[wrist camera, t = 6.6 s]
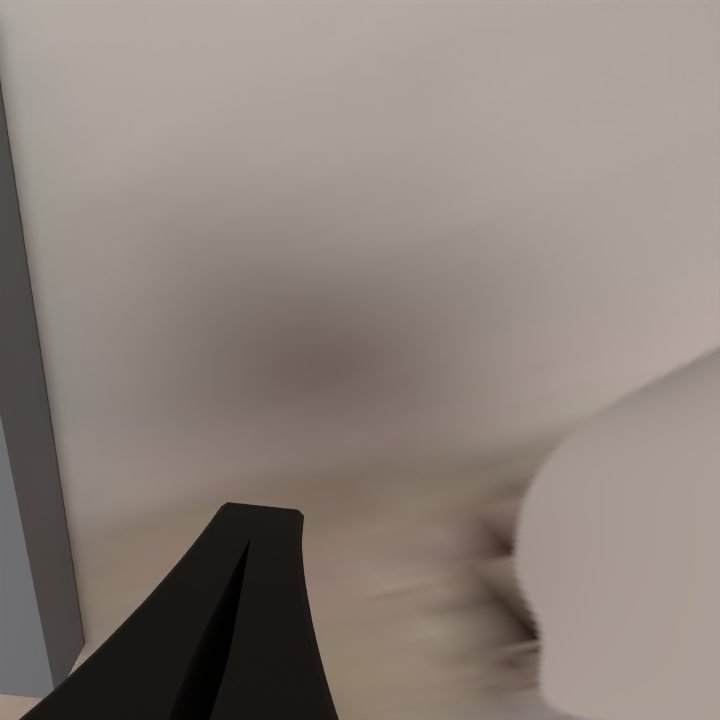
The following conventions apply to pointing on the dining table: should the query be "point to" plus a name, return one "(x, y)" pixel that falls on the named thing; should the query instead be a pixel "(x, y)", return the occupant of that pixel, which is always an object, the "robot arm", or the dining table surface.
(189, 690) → the robot arm
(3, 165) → the button panel
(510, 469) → the dining table surface
